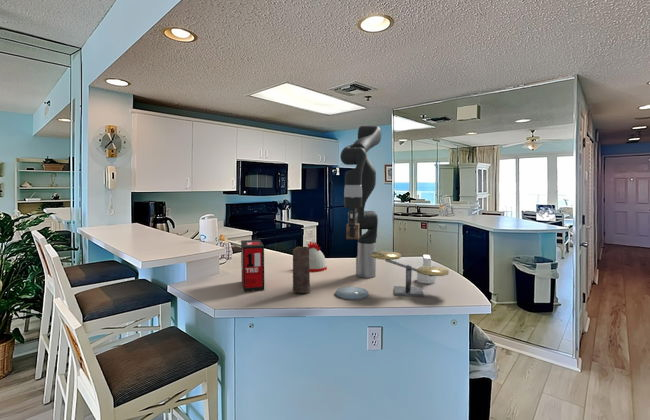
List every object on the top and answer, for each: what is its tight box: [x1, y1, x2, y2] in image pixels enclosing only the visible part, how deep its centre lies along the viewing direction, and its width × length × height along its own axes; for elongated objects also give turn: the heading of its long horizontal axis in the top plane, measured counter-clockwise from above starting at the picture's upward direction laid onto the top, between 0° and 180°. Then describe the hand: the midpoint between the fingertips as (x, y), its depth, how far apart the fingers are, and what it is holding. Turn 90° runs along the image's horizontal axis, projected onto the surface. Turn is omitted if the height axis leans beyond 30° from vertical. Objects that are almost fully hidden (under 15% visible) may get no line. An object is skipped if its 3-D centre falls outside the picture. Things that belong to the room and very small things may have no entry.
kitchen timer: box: [307, 241, 328, 273], centre depth 193 cm, size 14×14×15 cm
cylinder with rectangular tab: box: [416, 254, 437, 284], centre depth 170 cm, size 9×9×12 cm
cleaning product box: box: [240, 239, 265, 293], centre depth 161 cm, size 16×9×20 cm, turn 17°
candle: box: [292, 246, 311, 294], centre depth 152 cm, size 8×7×20 cm
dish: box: [335, 286, 369, 301], centre depth 150 cm, size 14×14×1 cm
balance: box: [371, 250, 450, 298], centre depth 152 cm, size 33×13×16 cm, turn 80°
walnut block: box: [345, 222, 360, 240], centre depth 148 cm, size 5×5×6 cm
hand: (352, 236), depth 148 cm, fingers closed on walnut block, 5 cm apart
